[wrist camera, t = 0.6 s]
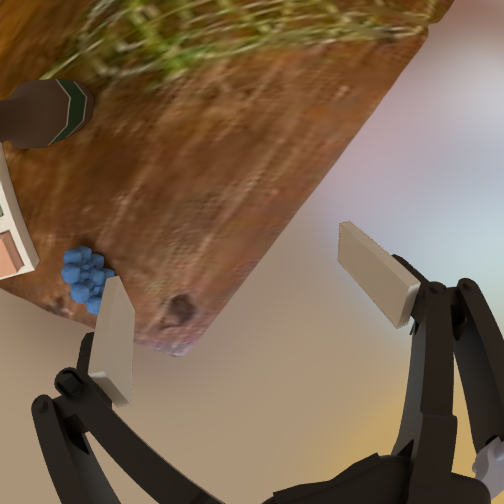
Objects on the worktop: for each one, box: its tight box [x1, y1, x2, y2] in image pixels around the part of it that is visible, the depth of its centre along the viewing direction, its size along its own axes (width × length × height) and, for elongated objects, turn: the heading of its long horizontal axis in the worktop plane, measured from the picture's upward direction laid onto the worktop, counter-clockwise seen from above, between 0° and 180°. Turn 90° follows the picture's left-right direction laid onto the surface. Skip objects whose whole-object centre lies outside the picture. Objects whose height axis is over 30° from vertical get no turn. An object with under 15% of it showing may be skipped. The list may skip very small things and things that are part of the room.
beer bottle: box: [0, 79, 95, 149], centre depth 20 cm, size 8×8×24 cm
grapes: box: [61, 245, 115, 315], centre depth 37 cm, size 12×7×12 cm, turn 25°
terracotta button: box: [0, 230, 24, 278], centre depth 32 cm, size 6×6×3 cm
